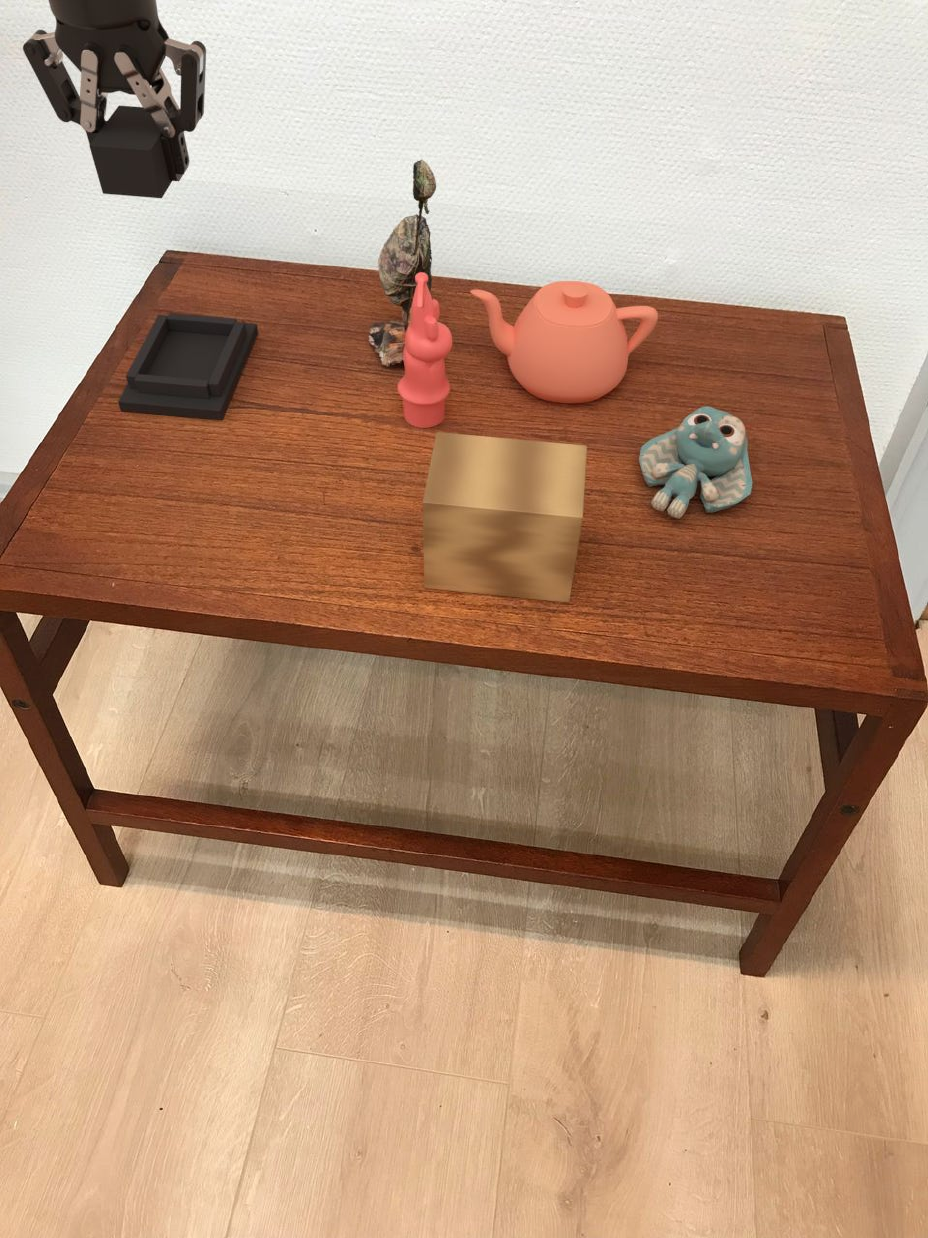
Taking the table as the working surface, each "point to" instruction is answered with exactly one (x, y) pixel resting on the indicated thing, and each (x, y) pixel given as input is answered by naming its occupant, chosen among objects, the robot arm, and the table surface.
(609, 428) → the table surface
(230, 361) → the base pad
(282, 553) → the table surface
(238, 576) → the table surface
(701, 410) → the stuffed animal
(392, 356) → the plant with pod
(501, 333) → the teapot
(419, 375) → the figurine
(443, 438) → the oak block
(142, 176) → the small black block
